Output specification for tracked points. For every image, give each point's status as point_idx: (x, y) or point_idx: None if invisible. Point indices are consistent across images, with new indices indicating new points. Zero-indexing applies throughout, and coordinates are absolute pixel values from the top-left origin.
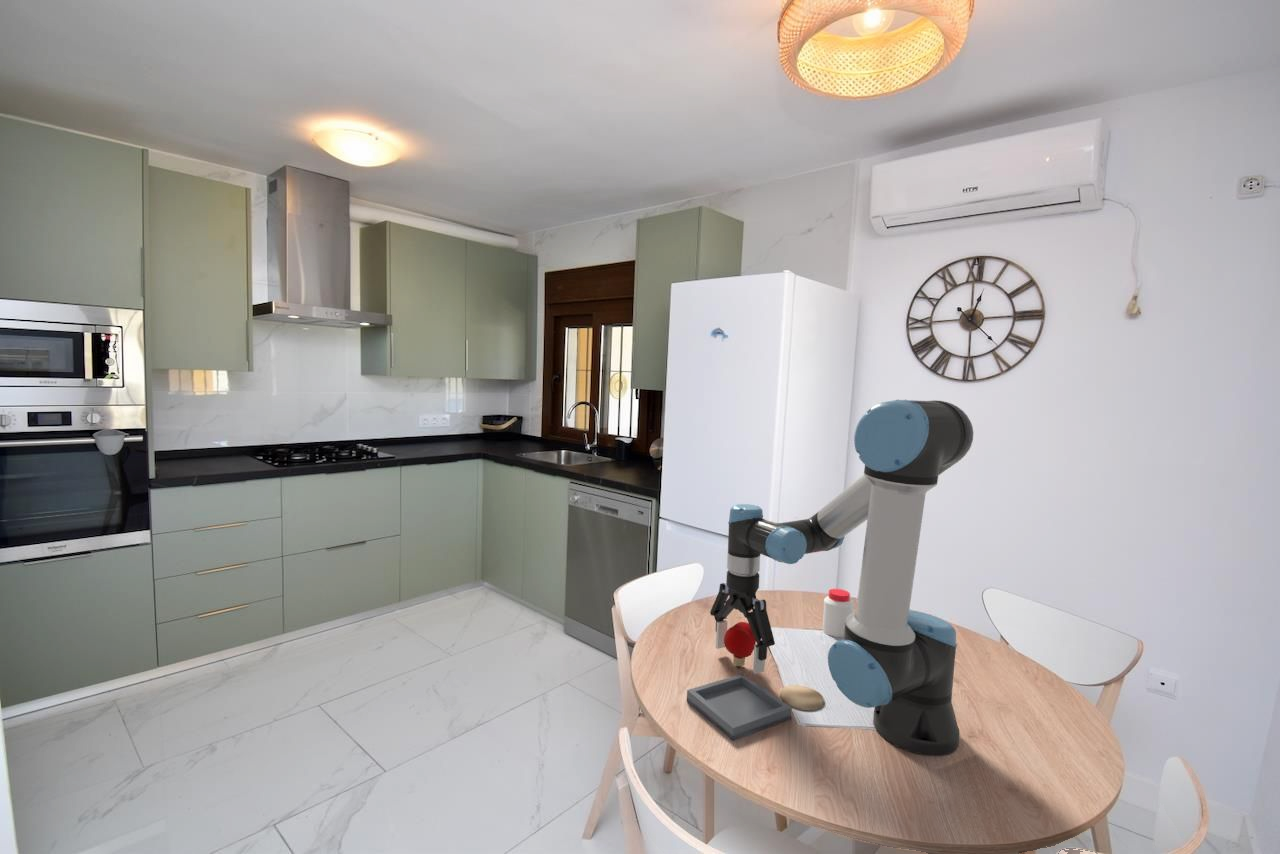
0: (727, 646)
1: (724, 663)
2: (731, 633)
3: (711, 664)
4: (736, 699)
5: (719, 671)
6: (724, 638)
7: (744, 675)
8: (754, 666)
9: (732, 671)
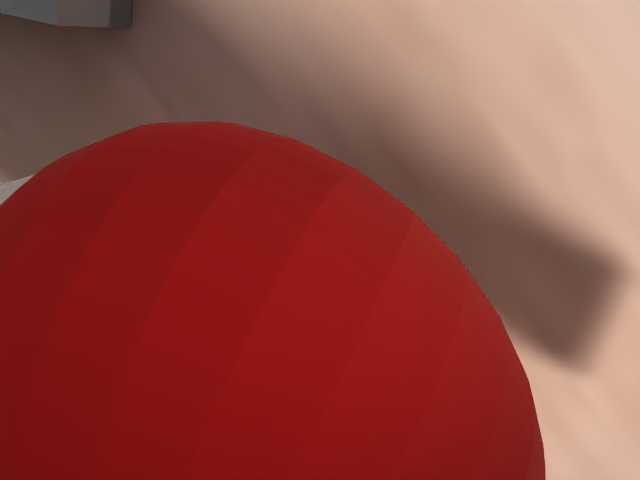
0: (263, 132)
1: (504, 230)
2: (44, 325)
3: (608, 97)
4: None
5: (432, 41)
6: (393, 246)
7: (19, 7)
8: (11, 192)
9: (341, 155)
